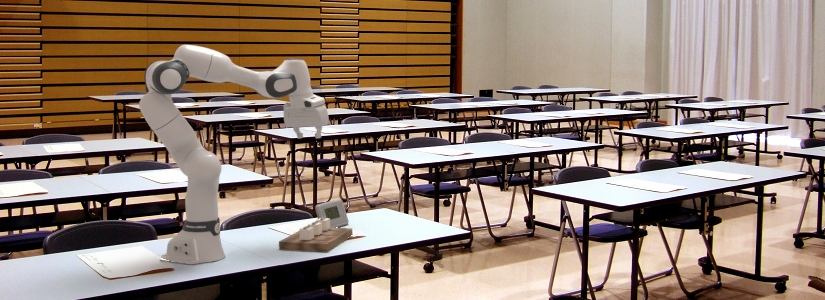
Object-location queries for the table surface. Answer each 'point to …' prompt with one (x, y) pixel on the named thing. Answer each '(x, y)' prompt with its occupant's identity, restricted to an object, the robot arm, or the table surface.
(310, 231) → the switch front
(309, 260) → the table surface
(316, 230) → the switch middle
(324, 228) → the switch back
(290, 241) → the switch housing
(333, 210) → the digital clock
